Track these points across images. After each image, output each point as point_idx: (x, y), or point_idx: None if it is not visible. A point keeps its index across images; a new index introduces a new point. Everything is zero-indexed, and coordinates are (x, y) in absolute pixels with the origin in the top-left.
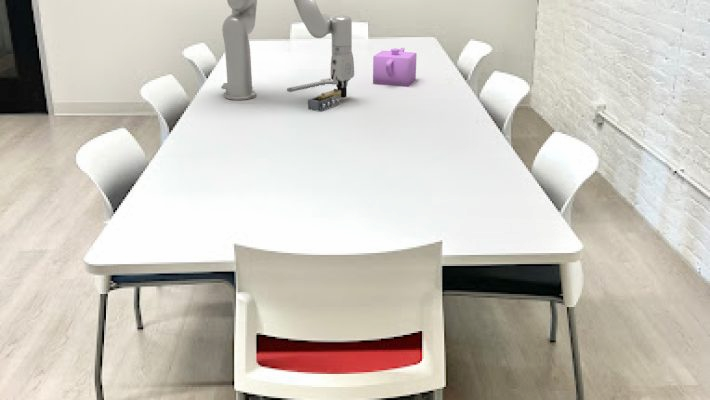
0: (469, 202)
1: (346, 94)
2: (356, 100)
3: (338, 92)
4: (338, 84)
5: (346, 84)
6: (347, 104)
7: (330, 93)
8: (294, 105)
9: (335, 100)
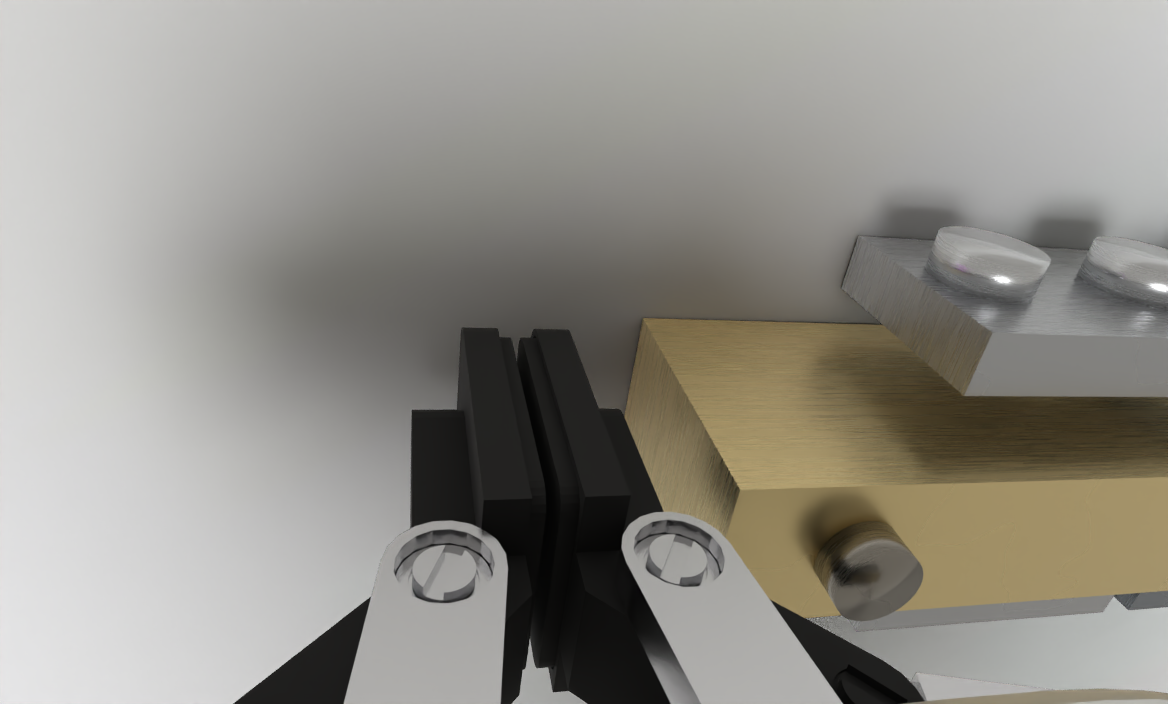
0: None
1: (470, 355)
2: (344, 38)
3: (837, 455)
4: (868, 678)
5: (414, 599)
6: (818, 62)
7: (1158, 491)
8: (1043, 675)
9: (1064, 291)
